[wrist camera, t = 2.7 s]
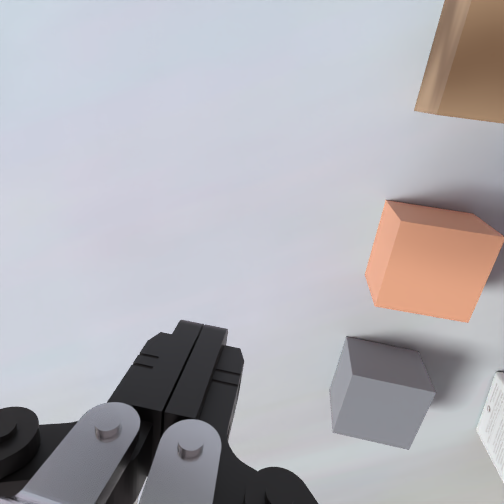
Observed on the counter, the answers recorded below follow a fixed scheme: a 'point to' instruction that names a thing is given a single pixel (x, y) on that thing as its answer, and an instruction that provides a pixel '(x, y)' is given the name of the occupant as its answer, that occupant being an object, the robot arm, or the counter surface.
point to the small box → (494, 423)
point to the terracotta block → (431, 260)
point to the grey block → (379, 393)
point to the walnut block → (466, 63)
